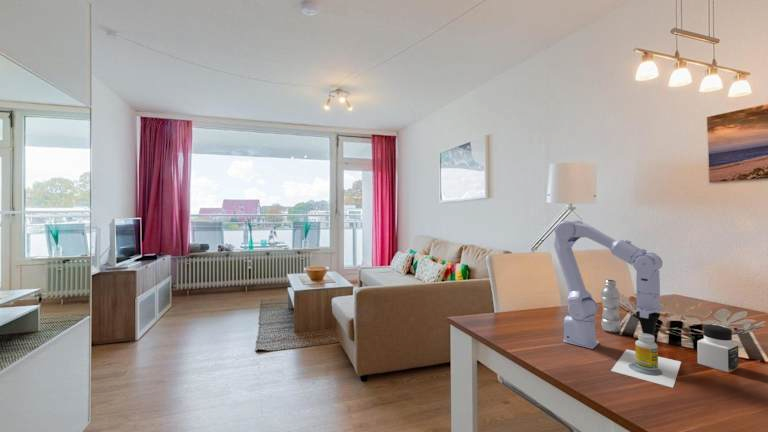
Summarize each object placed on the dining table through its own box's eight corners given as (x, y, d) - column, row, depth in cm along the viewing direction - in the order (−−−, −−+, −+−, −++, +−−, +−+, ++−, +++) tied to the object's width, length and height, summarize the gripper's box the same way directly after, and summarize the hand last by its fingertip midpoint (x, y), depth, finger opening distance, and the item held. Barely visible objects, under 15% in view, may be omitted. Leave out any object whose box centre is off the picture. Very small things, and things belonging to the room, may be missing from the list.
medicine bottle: (729, 373, 97) (728, 331, 97) (697, 363, 103) (696, 324, 103) (739, 367, 100) (738, 327, 100) (707, 358, 106) (707, 321, 106)
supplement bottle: (639, 361, 105) (639, 330, 105) (660, 367, 101) (660, 335, 101) (632, 366, 102) (632, 334, 102) (654, 372, 97) (654, 339, 97)
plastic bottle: (603, 333, 130) (602, 281, 130) (599, 327, 136) (598, 278, 136) (623, 335, 128) (622, 282, 128) (618, 329, 134) (617, 279, 134)
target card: (610, 372, 99) (610, 370, 99) (626, 350, 114) (626, 349, 114) (673, 389, 89) (673, 387, 89) (681, 362, 104) (681, 361, 104)
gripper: (661, 298, 96) (661, 346, 96) (667, 290, 106) (667, 333, 106) (631, 294, 101) (631, 339, 101) (640, 287, 111) (640, 328, 112)
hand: (648, 336), depth 104 cm, fingers closed
